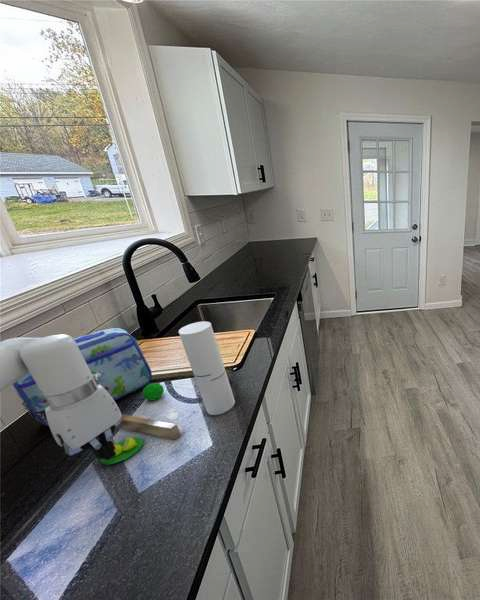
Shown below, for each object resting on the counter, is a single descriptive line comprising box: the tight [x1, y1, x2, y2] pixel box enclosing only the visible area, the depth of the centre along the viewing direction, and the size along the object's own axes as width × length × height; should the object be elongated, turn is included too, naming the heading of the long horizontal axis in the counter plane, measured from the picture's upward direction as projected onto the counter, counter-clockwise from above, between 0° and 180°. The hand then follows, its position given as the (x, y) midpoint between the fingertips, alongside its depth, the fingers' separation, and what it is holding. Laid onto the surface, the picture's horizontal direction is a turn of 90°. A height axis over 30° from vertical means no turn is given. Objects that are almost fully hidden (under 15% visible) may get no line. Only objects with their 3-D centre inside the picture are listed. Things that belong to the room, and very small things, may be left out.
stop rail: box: [119, 413, 182, 440], centre depth 80 cm, size 18×2×4 cm, turn 75°
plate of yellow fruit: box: [99, 436, 144, 466], centre depth 75 cm, size 8×8×3 cm
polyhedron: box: [141, 382, 165, 401], centre depth 93 cm, size 5×5×5 cm
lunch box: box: [11, 327, 153, 427], centre depth 89 cm, size 26×11×21 cm, turn 144°
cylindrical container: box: [178, 321, 236, 416], centre depth 84 cm, size 7×7×25 cm
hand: (107, 456), depth 72 cm, fingers closed
